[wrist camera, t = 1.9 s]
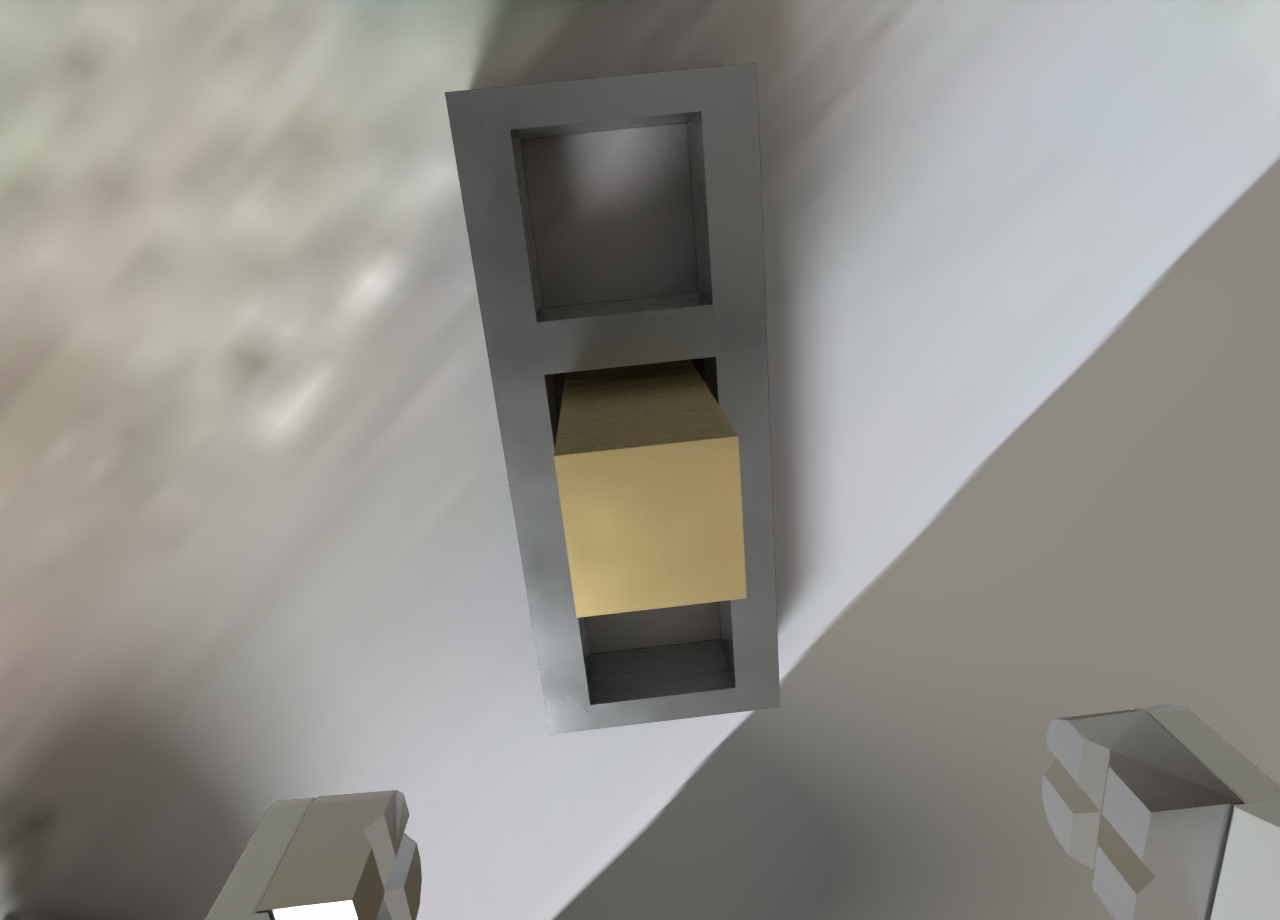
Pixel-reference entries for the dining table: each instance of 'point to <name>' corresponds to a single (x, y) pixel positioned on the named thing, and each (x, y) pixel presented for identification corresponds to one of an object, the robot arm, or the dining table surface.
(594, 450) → the brass peg
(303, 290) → the dining table surface
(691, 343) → the grey peg holder tray
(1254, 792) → the robot arm
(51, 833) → the dining table surface
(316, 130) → the dining table surface
